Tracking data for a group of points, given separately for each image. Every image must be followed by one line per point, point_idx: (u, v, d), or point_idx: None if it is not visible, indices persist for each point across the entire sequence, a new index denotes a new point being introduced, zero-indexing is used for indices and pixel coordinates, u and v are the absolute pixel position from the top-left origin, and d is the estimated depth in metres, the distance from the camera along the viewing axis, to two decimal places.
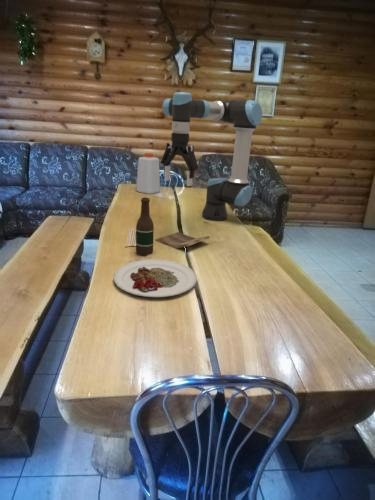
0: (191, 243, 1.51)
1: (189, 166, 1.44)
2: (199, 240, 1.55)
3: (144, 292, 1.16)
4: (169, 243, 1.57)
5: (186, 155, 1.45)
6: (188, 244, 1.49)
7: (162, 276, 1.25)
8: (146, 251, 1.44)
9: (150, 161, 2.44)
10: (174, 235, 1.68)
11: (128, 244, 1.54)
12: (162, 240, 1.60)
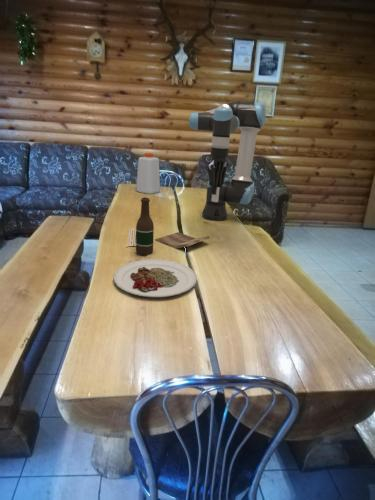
0: (191, 243, 1.51)
1: None
2: (199, 240, 1.55)
3: (144, 292, 1.16)
4: (169, 243, 1.57)
5: (215, 171, 1.49)
6: (188, 244, 1.49)
7: (162, 276, 1.25)
8: (146, 251, 1.44)
9: (150, 161, 2.44)
10: (174, 235, 1.68)
11: (129, 244, 1.54)
12: (162, 240, 1.60)
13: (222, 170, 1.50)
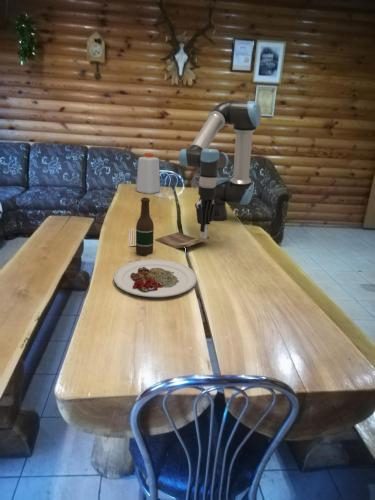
0: (191, 243, 1.51)
1: None
2: (199, 240, 1.55)
3: (144, 292, 1.16)
4: (169, 243, 1.57)
5: (203, 209, 1.51)
6: (188, 244, 1.49)
7: (162, 276, 1.25)
8: (146, 251, 1.44)
9: (150, 161, 2.44)
10: (174, 235, 1.68)
11: (130, 244, 1.54)
12: (162, 240, 1.60)
13: (210, 208, 1.52)
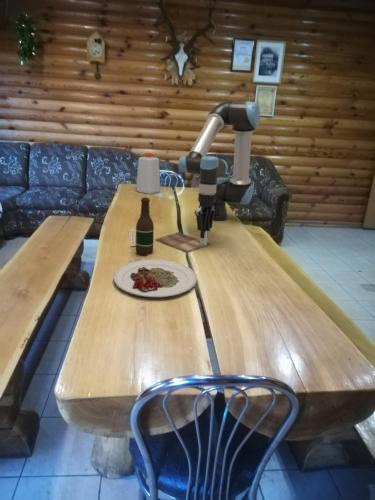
0: (192, 250, 1.51)
1: None
2: (200, 247, 1.55)
3: (144, 292, 1.16)
4: (169, 243, 1.57)
5: (202, 216, 1.52)
6: (189, 251, 1.50)
7: (162, 276, 1.25)
8: (146, 251, 1.44)
9: (150, 161, 2.44)
10: (174, 235, 1.68)
11: (131, 244, 1.54)
12: (162, 240, 1.60)
13: (210, 215, 1.53)
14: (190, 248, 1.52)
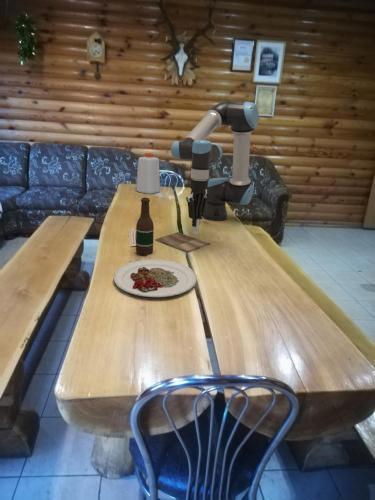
0: (192, 250, 1.51)
1: None
2: (200, 247, 1.55)
3: (144, 292, 1.16)
4: (169, 243, 1.57)
5: (194, 203, 1.45)
6: (189, 251, 1.50)
7: (162, 276, 1.25)
8: (146, 251, 1.44)
9: (150, 161, 2.44)
10: (174, 235, 1.68)
11: (132, 244, 1.54)
12: (162, 240, 1.60)
13: (202, 202, 1.46)
14: (190, 248, 1.52)
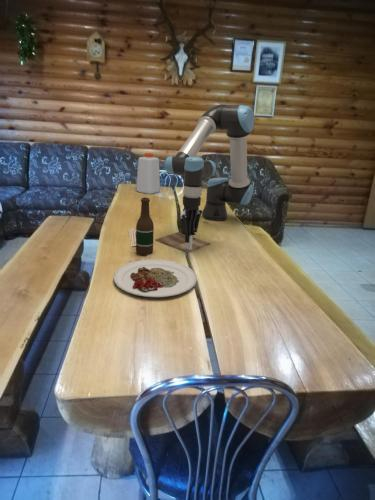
0: (192, 250, 1.51)
1: None
2: (200, 247, 1.55)
3: (144, 292, 1.16)
4: (169, 243, 1.57)
5: (187, 220, 1.45)
6: (189, 251, 1.50)
7: (162, 276, 1.25)
8: (146, 251, 1.44)
9: (150, 161, 2.44)
10: (174, 235, 1.68)
11: (132, 244, 1.54)
12: (162, 240, 1.60)
13: (195, 218, 1.46)
14: None
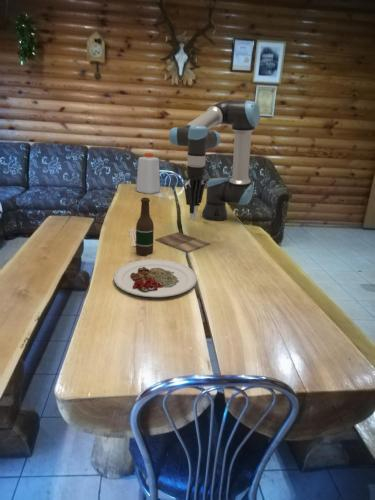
0: (192, 250, 1.52)
1: None
2: (200, 247, 1.56)
3: (144, 292, 1.16)
4: (169, 243, 1.57)
5: (191, 190, 1.45)
6: (189, 251, 1.50)
7: (162, 276, 1.25)
8: (146, 251, 1.44)
9: (150, 161, 2.44)
10: (174, 235, 1.68)
11: (134, 244, 1.54)
12: (162, 240, 1.60)
13: (199, 188, 1.46)
14: (190, 248, 1.52)
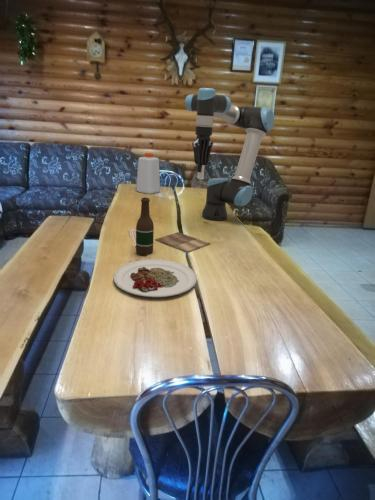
0: (192, 250, 1.52)
1: None
2: (200, 247, 1.56)
3: (144, 292, 1.16)
4: (169, 243, 1.57)
5: (200, 149, 1.56)
6: (189, 251, 1.50)
7: (162, 276, 1.25)
8: (146, 251, 1.44)
9: (150, 161, 2.44)
10: (174, 235, 1.68)
11: (135, 244, 1.54)
12: (162, 240, 1.60)
13: (207, 148, 1.57)
14: (190, 248, 1.52)
